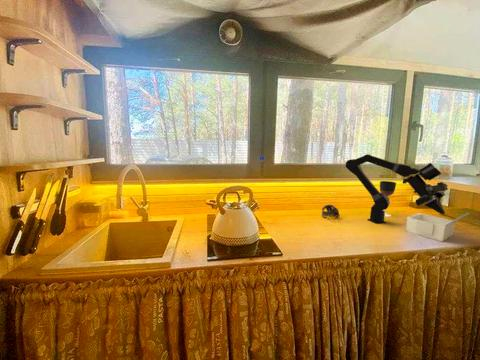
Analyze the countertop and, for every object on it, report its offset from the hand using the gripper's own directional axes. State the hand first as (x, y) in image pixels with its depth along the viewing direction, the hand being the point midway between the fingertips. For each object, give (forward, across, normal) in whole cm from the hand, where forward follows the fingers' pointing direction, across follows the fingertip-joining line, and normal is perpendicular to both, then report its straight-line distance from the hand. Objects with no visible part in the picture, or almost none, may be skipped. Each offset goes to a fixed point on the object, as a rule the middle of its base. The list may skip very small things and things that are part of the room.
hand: (444, 213), depth 107 cm
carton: (+5, 0, +11) cm, 12 cm away
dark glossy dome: (-24, -20, +41) cm, 51 cm away
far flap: (+4, 0, -3) cm, 5 cm away
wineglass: (-14, +13, +30) cm, 35 cm away
